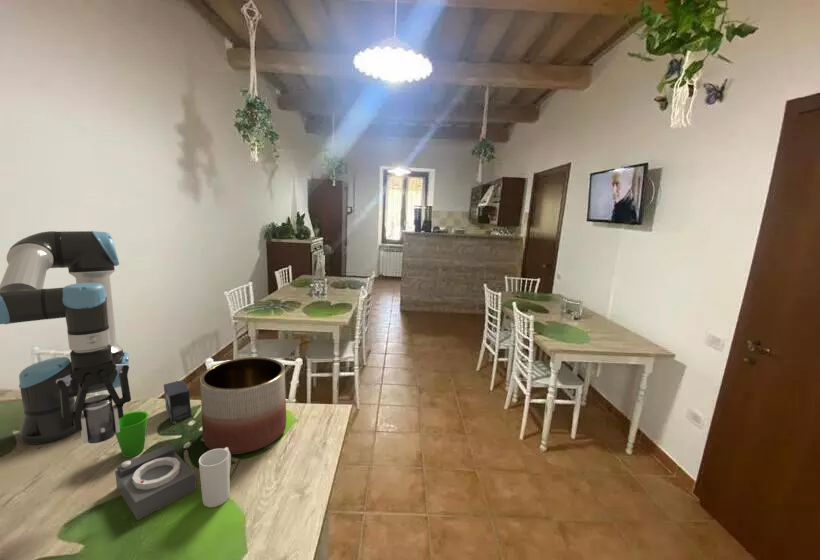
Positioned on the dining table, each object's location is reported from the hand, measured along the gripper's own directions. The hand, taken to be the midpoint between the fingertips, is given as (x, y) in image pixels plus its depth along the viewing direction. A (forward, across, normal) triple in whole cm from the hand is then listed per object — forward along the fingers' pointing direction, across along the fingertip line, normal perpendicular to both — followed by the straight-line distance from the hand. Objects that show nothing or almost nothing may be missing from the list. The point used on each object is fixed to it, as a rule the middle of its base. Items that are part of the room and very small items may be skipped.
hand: (101, 435), depth 91 cm
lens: (0, 0, 0) cm, 0 cm away
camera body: (+17, +9, -7) cm, 20 cm away
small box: (+16, +26, +29) cm, 42 cm away
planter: (+17, +37, 0) cm, 40 cm away
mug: (+17, +19, -20) cm, 33 cm away
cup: (+17, +9, +15) cm, 24 cm away
